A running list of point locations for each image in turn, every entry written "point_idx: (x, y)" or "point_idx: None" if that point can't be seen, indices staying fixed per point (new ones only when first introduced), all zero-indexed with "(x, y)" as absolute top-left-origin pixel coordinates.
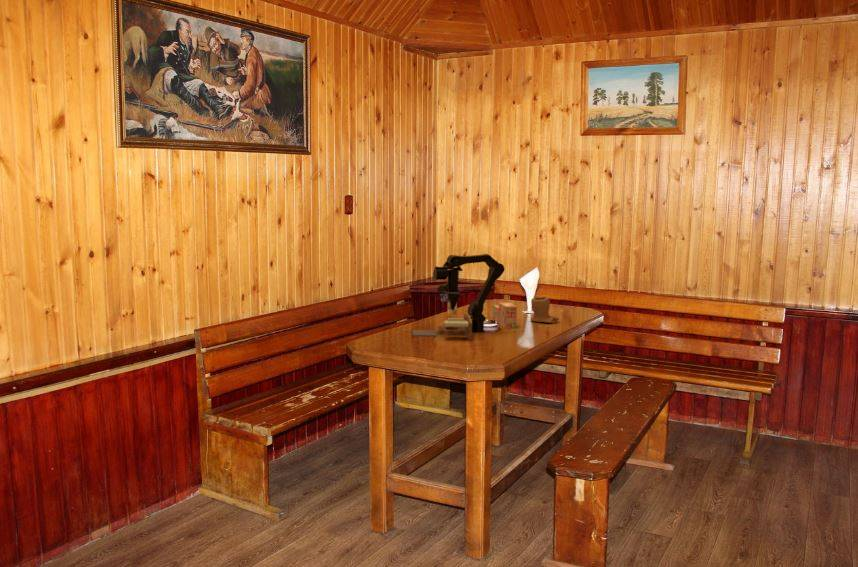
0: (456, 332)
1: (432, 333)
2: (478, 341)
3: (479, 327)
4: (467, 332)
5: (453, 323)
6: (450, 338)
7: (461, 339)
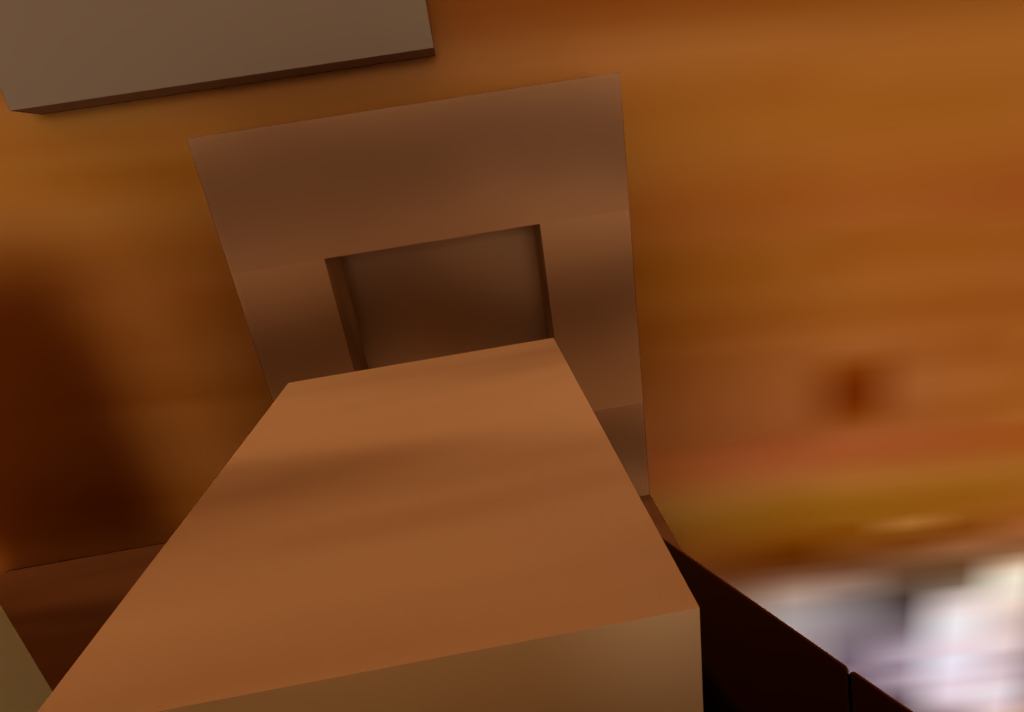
0: None
1: (123, 6)
2: None
3: None
4: None
5: None
6: (67, 338)
7: (71, 483)
